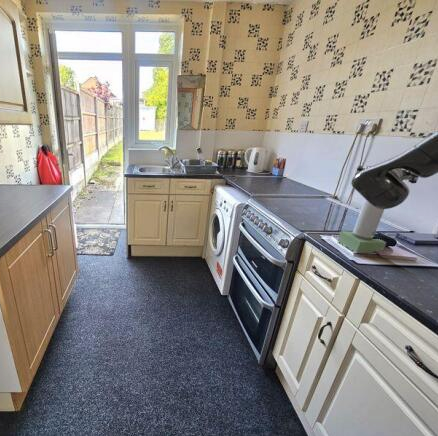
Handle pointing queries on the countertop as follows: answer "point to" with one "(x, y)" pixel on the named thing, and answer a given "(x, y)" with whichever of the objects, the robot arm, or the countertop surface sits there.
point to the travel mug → (367, 221)
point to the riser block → (361, 243)
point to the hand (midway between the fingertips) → (386, 171)
